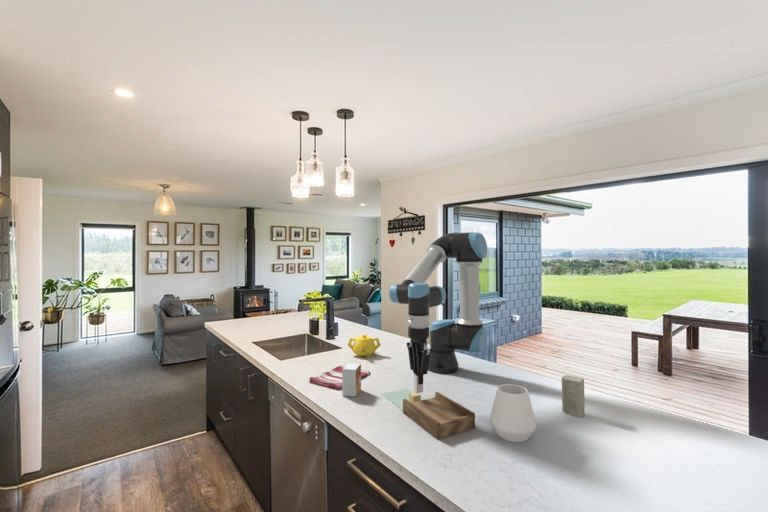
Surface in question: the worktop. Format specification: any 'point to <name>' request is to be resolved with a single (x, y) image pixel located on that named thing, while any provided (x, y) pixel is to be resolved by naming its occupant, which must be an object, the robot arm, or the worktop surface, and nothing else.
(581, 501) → the worktop surface
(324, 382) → the dish towel
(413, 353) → the robot arm
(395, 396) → the cover plate
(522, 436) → the white ceramic vase
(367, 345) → the yellow sugar bowl
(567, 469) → the worktop surface
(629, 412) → the worktop surface
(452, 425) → the wooden tray
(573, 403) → the skincare box
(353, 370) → the small box
